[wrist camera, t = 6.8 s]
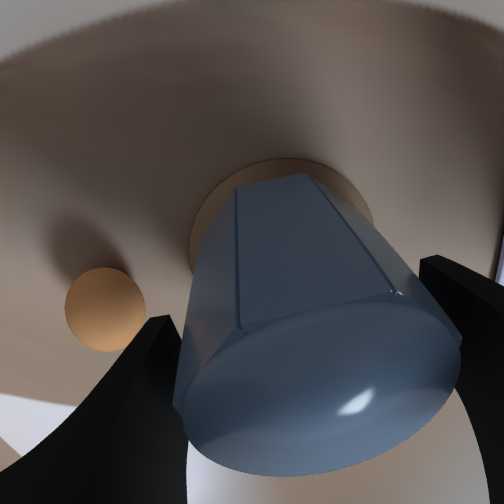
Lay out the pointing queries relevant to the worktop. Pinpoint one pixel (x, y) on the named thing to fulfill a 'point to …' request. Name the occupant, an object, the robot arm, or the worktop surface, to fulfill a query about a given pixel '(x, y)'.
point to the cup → (307, 336)
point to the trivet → (263, 173)
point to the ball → (104, 309)
